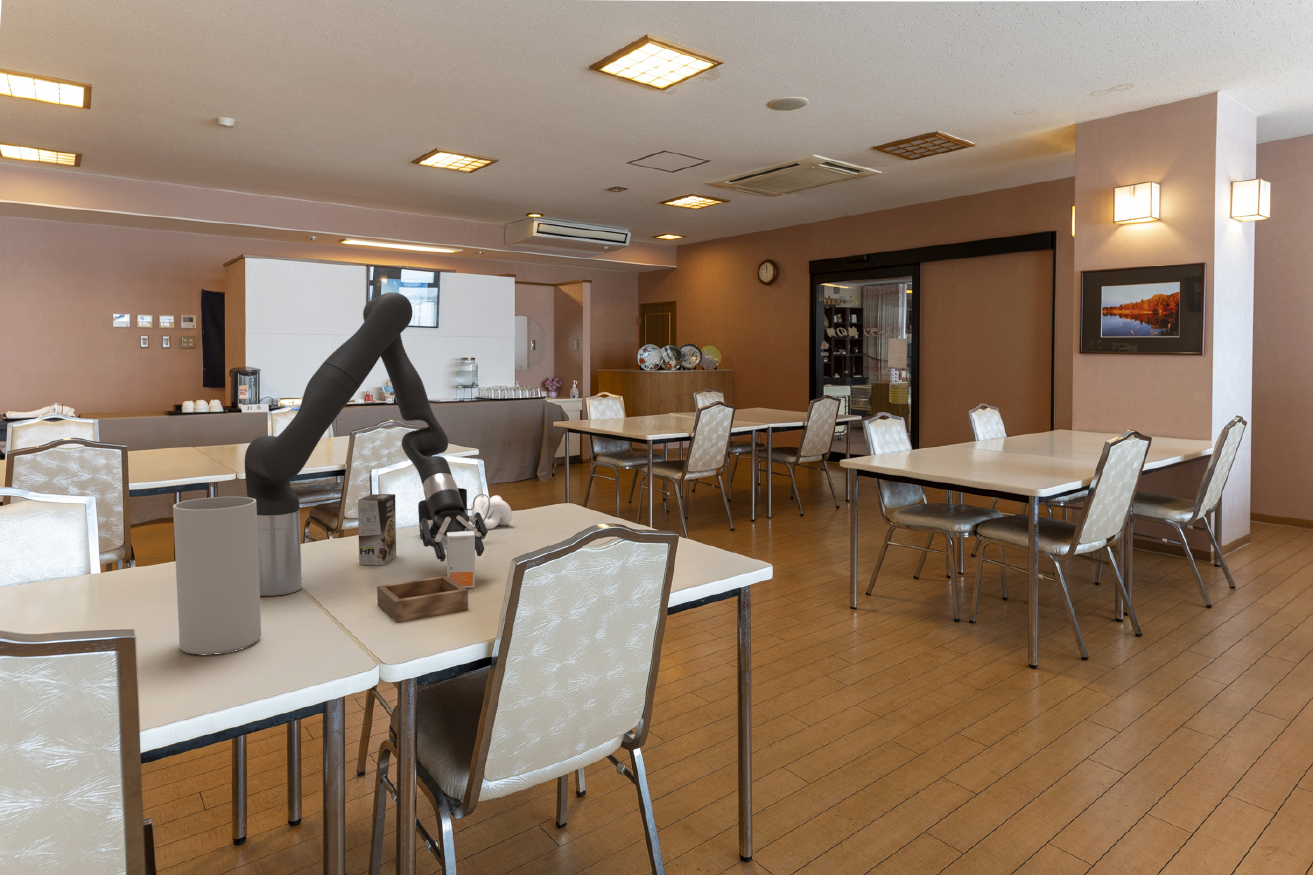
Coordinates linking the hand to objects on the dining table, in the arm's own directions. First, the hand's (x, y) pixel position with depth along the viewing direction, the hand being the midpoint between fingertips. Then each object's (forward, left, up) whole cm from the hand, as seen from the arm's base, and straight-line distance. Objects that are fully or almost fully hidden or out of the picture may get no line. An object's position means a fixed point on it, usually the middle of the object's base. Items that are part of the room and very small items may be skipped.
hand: (462, 556), depth 173 cm
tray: (-12, -9, -7) cm, 17 cm away
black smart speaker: (+12, +51, -7) cm, 52 cm away
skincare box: (0, +1, -7) cm, 7 cm away
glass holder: (+15, +38, -7) cm, 41 cm away
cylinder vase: (-48, -10, -7) cm, 50 cm away
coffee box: (-9, +33, -7) cm, 35 cm away
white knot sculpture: (+31, +55, -7) cm, 63 cm away
